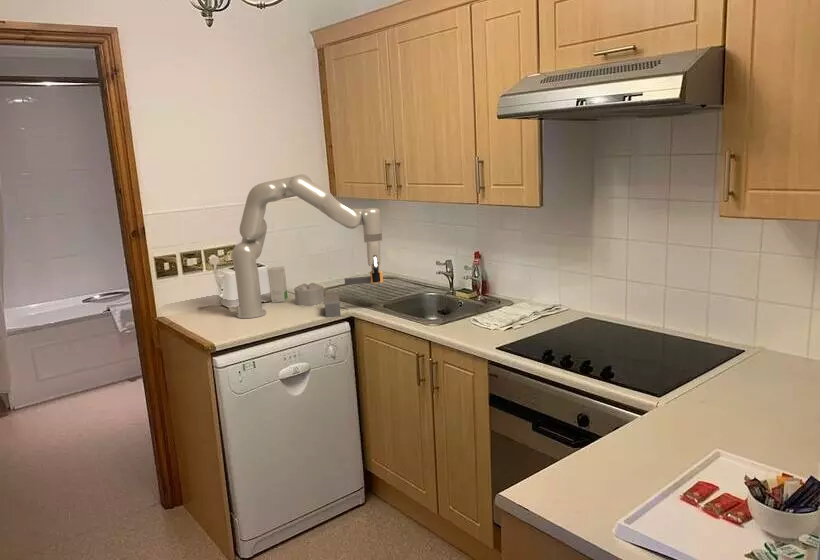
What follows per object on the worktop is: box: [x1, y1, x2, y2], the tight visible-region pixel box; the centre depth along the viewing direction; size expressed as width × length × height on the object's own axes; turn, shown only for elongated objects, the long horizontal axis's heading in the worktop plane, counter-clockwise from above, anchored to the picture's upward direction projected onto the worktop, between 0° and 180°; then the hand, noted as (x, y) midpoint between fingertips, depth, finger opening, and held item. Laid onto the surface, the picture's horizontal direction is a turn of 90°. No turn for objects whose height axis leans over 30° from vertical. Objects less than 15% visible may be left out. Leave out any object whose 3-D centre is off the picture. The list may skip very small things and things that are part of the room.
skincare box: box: [267, 266, 289, 304], centre depth 302 cm, size 8×7×16 cm
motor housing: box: [324, 293, 342, 318], centre depth 274 cm, size 6×14×7 cm, turn 7°
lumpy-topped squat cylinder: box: [294, 282, 325, 307], centre depth 294 cm, size 10×13×9 cm
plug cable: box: [344, 270, 384, 286], centre depth 274 cm, size 16×4×4 cm, turn 97°
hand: (376, 280), depth 274 cm, fingers closed on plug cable, 4 cm apart
